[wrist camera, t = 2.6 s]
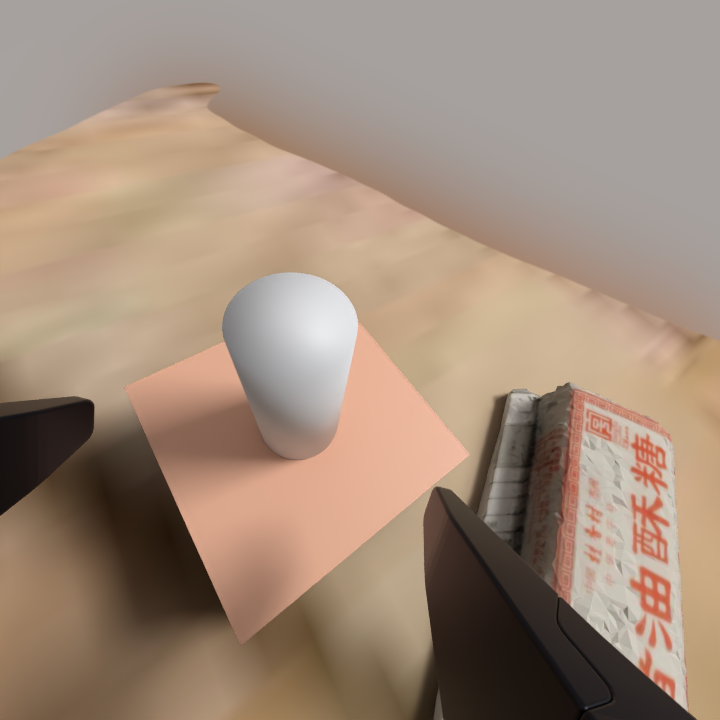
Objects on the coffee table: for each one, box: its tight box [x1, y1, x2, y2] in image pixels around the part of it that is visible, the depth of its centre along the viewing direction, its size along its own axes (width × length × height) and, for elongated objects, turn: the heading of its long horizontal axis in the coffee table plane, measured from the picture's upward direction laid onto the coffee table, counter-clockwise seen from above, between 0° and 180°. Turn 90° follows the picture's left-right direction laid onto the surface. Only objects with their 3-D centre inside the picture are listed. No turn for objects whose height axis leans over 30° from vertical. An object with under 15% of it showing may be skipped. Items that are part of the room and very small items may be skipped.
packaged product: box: [434, 382, 689, 720], centre depth 17 cm, size 18×5×10 cm
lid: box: [124, 273, 470, 646], centre depth 12 cm, size 10×10×9 cm
